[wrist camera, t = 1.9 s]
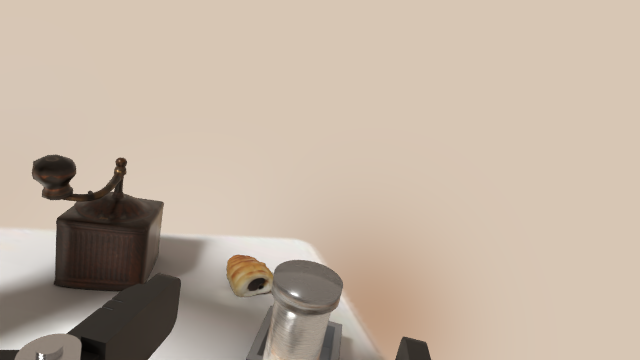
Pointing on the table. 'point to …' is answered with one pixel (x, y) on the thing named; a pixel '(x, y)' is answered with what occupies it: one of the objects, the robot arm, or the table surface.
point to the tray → (328, 350)
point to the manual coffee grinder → (100, 230)
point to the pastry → (248, 276)
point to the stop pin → (301, 309)
